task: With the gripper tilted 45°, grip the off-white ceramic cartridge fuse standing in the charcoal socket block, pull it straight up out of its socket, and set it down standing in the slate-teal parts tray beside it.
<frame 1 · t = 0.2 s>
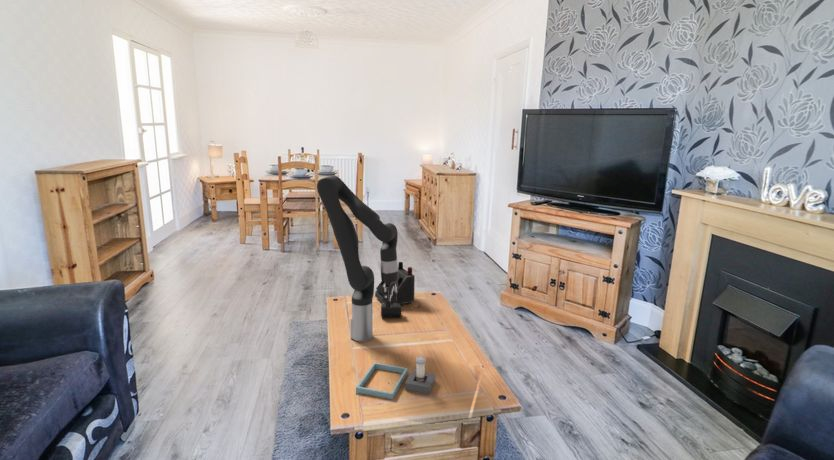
hand: (391, 305, 196), 18 cm above the table, tool pointing down, fingers open, 8 cm apart
socket block: (420, 388, 165), on the table
voltmeter: (394, 301, 246), on the table
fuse: (420, 385, 165), point 1 cm above the table, touching socket block
black rectangular block: (390, 317, 226), on the table
parts tray: (382, 384, 167), on the table
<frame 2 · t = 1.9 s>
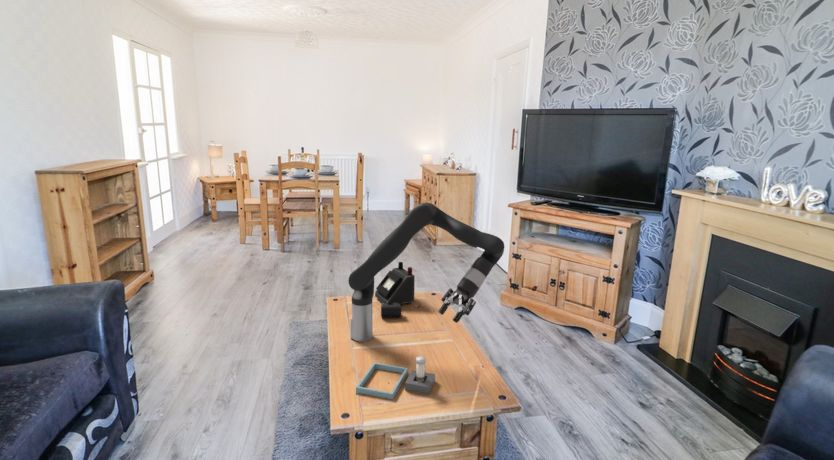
hand: (447, 317, 166), 25 cm above the table, tool tilted 45°, fingers open, 8 cm apart
nothing on the table moved.
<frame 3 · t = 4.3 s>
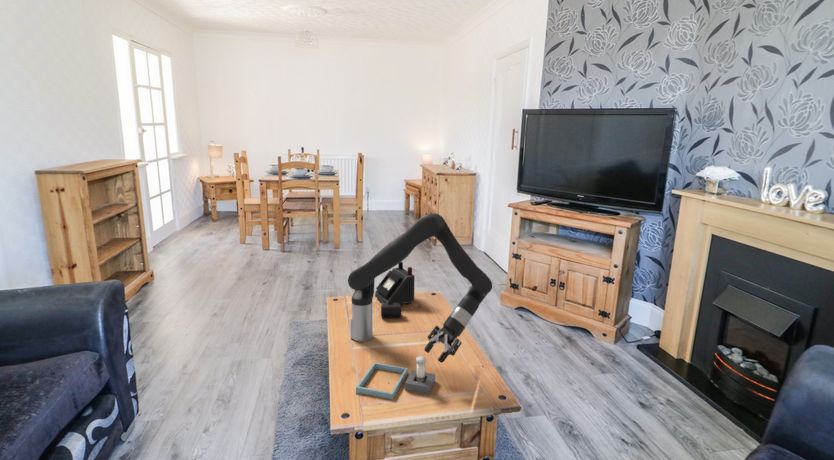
hand: (432, 356, 166), 11 cm above the table, tool tilted 45°, fingers open, 8 cm apart
nothing on the table moved.
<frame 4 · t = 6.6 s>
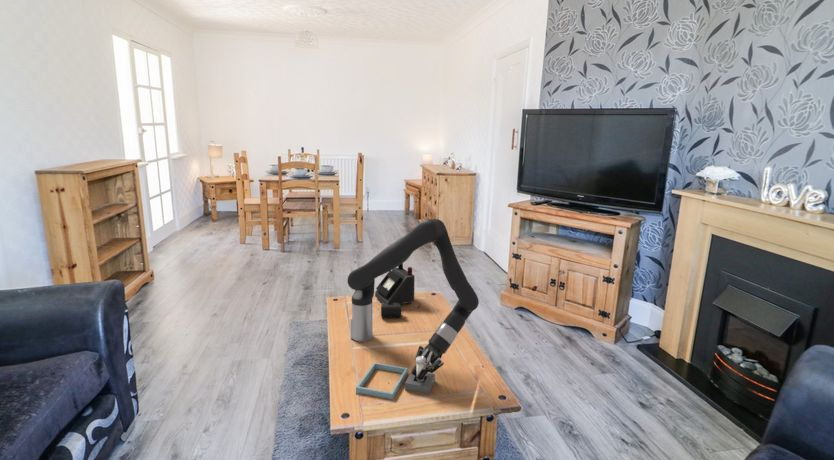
hand: (415, 376, 163), 5 cm above the table, tool tilted 45°, fingers closed on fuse, 3 cm apart
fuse: (420, 385, 165), point 1 cm above the table, touching gripper, socket block
everything else where it was.
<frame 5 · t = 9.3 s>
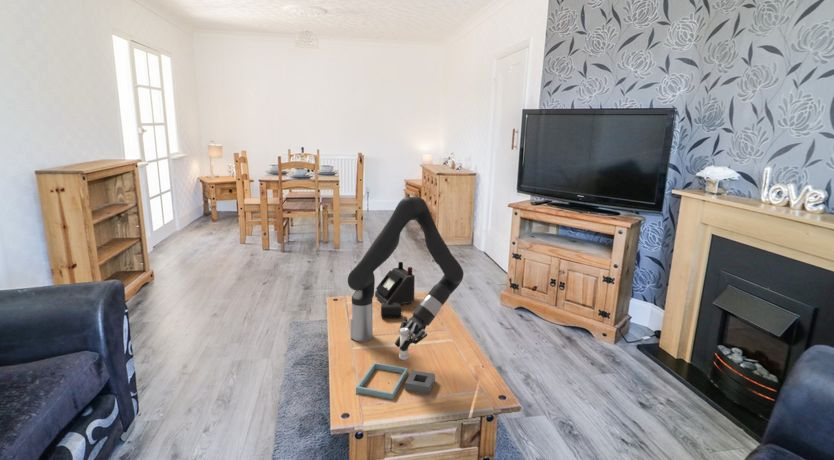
hand: (399, 347, 162), 16 cm above the table, tool tilted 45°, fingers closed on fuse, 3 cm apart
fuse: (403, 357, 164), point 12 cm above the table, touching gripper
everything else where it was.
when the fingers open (7 cm above the table, at t = 12.1 s): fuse drops 1 cm, resting on parts tray.
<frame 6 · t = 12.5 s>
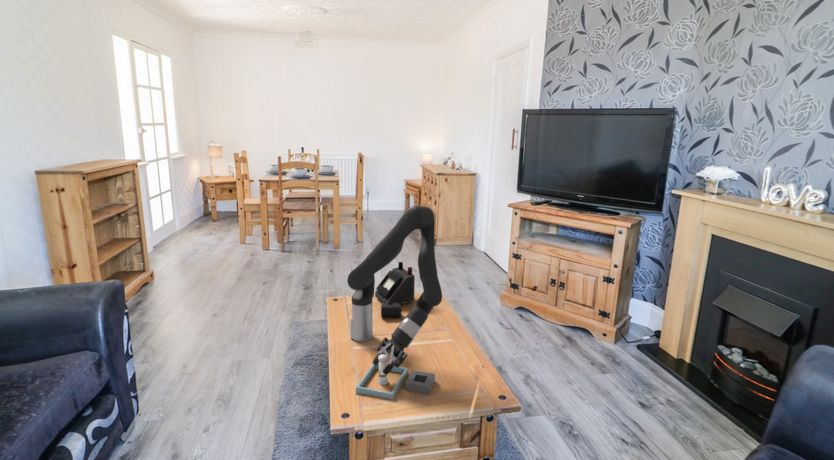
hand: (379, 368, 165), 7 cm above the table, tool tilted 45°, fingers open, 7 cm apart
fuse: (382, 383, 167), point 1 cm above the table, touching parts tray
everything else where it was.
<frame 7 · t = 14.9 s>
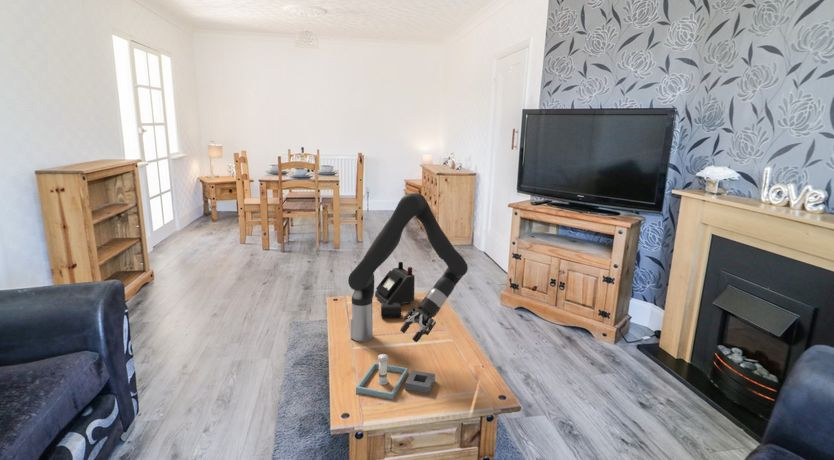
hand: (408, 336, 169), 17 cm above the table, tool tilted 45°, fingers open, 8 cm apart
nothing on the table moved.
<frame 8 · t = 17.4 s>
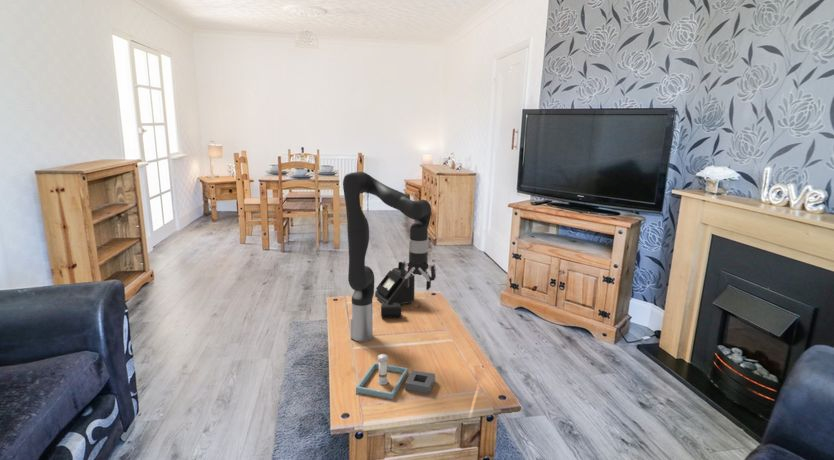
hand: (417, 288, 182), 30 cm above the table, tool pointing down, fingers open, 8 cm apart
nothing on the table moved.
at the end: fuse inside the target area on the parts tray (0.0 cm from its centre), point 0.6 cm above the parts tray's base; the gripper is holding nothing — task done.
